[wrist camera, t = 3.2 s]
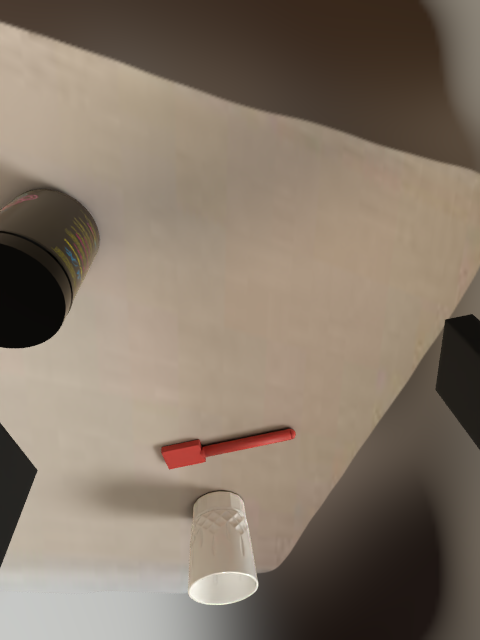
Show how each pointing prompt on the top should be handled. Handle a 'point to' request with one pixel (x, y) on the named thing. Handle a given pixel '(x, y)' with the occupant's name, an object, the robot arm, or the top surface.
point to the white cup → (220, 551)
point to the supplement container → (42, 264)
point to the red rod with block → (217, 448)
